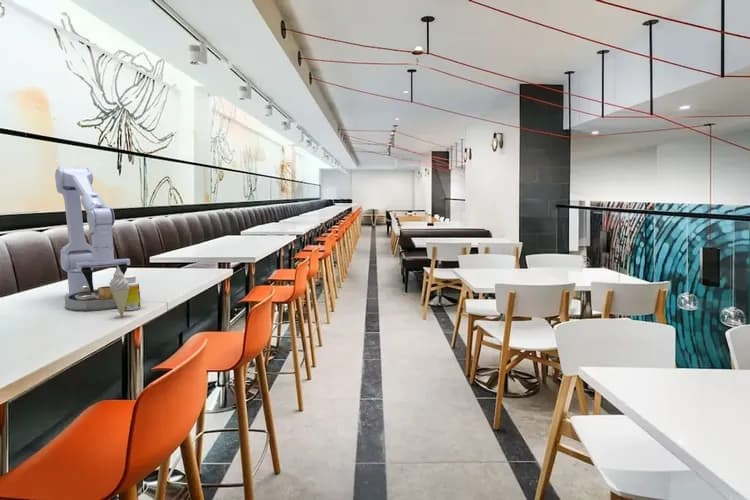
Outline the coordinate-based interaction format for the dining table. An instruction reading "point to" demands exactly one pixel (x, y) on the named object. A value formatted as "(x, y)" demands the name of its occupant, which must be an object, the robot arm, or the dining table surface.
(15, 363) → the dining table surface
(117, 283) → the ice cream cone
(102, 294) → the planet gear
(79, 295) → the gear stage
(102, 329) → the dining table surface
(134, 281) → the beer glass
